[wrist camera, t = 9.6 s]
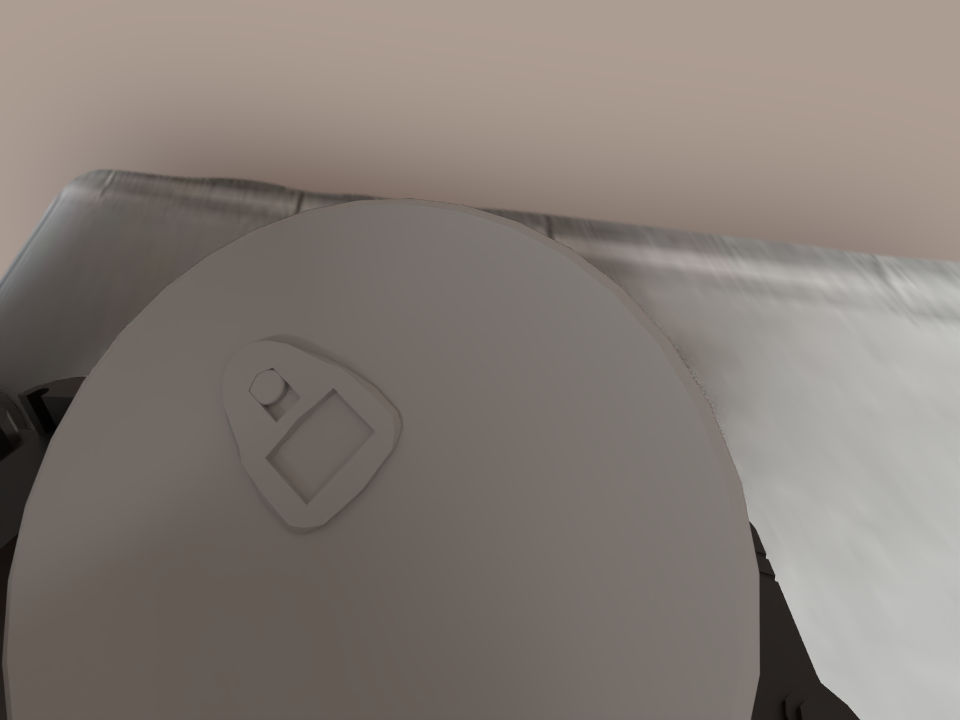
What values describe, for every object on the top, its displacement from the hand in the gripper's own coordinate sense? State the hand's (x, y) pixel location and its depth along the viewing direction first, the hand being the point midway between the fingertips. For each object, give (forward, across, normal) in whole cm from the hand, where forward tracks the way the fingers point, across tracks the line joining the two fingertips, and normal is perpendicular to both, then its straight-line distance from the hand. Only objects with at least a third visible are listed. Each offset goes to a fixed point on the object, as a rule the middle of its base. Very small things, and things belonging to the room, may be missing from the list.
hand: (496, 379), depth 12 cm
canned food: (0, 0, -5) cm, 5 cm away
